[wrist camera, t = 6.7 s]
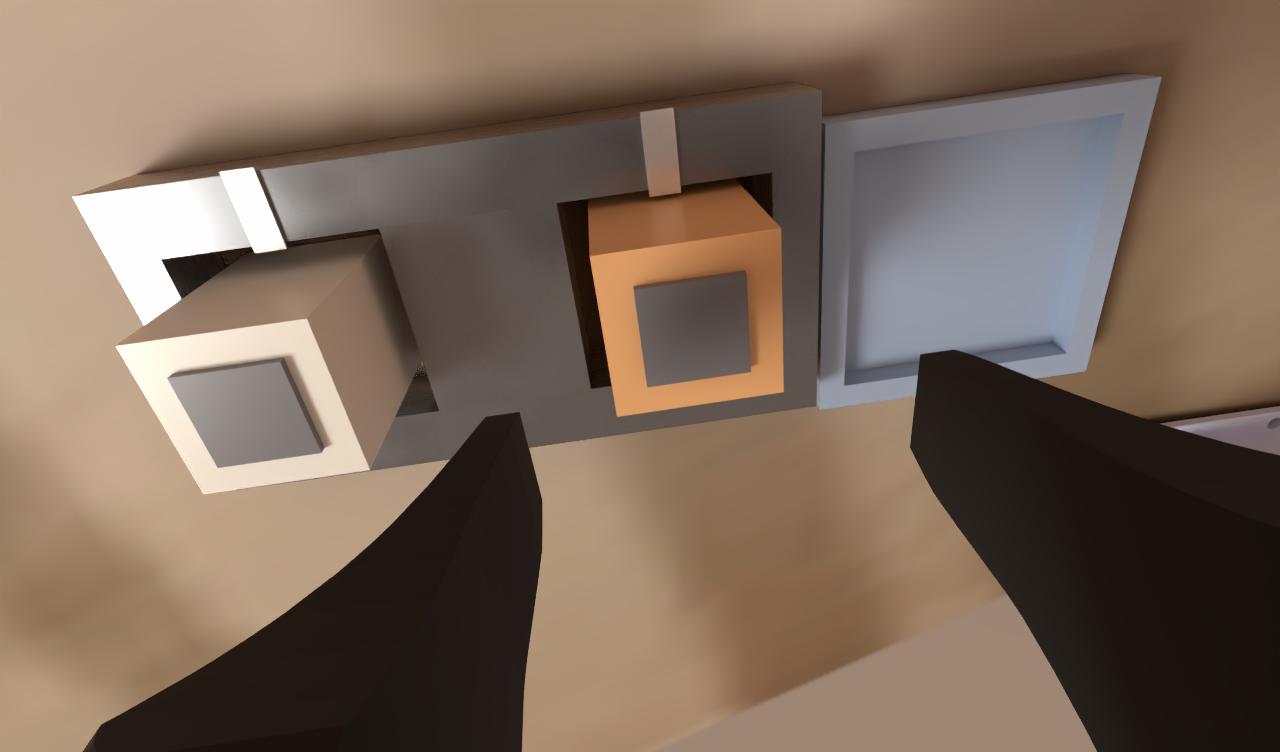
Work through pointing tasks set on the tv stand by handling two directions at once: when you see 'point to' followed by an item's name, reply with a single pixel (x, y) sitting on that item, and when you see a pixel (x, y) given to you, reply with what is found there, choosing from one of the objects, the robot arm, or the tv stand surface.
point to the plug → (688, 296)
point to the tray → (972, 230)
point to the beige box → (280, 365)
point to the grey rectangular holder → (492, 247)
